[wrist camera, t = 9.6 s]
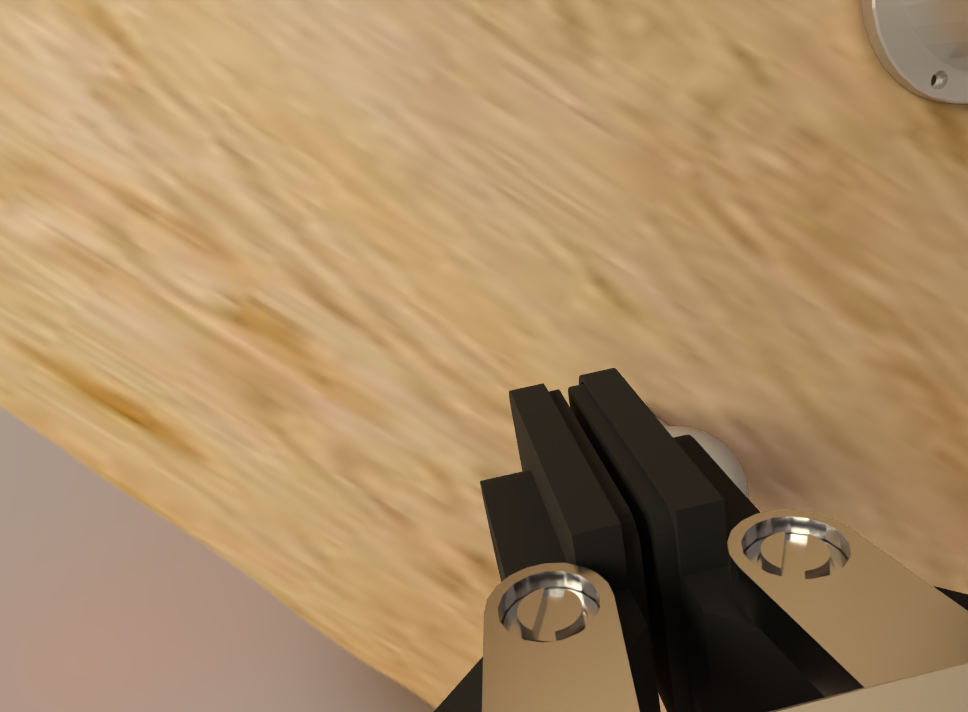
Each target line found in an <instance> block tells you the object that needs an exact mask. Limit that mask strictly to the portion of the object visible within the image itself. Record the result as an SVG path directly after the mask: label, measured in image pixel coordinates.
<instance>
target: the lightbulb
mask: <svg viewBox="0 0 968 712" xmlns="http://www.w3.org/2000/svg"><path fill="white" fill-rule="evenodd" d="M657 419H658V418H657ZM658 420H659V421H660V423H661V424H662V425H663V426H664V427H665V429H666V430H667V431H668V432H669V433H670V435H671V436H672V437H678V436H682V435H691V436H692V437H693V438H695V440H696V441H697V442H698V443H699V444H700V445H701V446H702V447H703V449H704V450H705V451H706V452H707V453H708V454H709V455H710V456H711V458H712V459H713V460H714V461H715V462H716V463H717V464H718V465H719V467H720V468H721V469H722V470H723V471H724V472H725V473H726V474H727V476H728V477H729V478H730V479H731V480H732V481H733V482H734V483H735V485H736V486H737V487H738V488H739V489H740V490H741V491H742V492H743V494H744V495H745V496H746V497H747V498H748V487H747V481H746V476H745V474H744V471H743V469H742V467H741V464H740V462H739V460H738V459H737V457H736V456H735V455H734V453H733V452H732V451H731V450H730V449H729V447H728V446H727V445H725V444H724V443H723V442H722V441H721V440H719V439H718V438H716V437H714V436H712V435H710V434H708V433H706V432H704V431H702V430H700V429H696V428H692V427H683V426H668V425H667V424H666V423H665V422H663V421H662V420H660V419H658Z"/></svg>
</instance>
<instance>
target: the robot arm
mask: <svg viewBox="0 0 968 712" xmlns="http://www.w3.org/2000/svg"><path fill="white" fill-rule="evenodd" d="M861 2H862V10H863V18H864V24H865V27H866V30H867V33H868V36H869V40H870V43H871V46H872V48H873V49H874V51H875V53H876V55H877V57H878V58H879V60H880V62H881V64H882V66H883V67H884V68H885V69H886V70H887V71H888V72H889V74H890V75H891V76H892V77H893V78H894V79H895V80H896V81H897V82H898V83H899V84H901V85H902V86H904V87H905V88H907V89H908V90H909V91H911V92H912V93H914V94H916V95H919V96H921V97H924V98H927V99H929V100H932V101H937V102H945V103H953V104H968V0H861ZM568 395H569V402H570V407H569V405H568V404H567V402H566V400H565V399H564V397H563V395H562V393H561V392H560V390H554V391H550V392H548V390H547V388H546V387H545V385H544V384H539V385H534V386H529V387H525V388H520V389H516V390H511V391H509V398H510V405H511V410H512V416H513V421H514V427H515V432H516V438H517V443H518V449H519V454H520V460H521V465H522V471H523V472H518V473H514V474H510V475H505V476H501V477H496V478H492V479H487V480H483V481H480V484H481V489H482V495H483V500H484V504H485V509H486V514H487V519H488V524H489V528H490V533H491V538H492V543H493V547H494V552H495V556H496V561H497V565H498V569H499V574H500V578H501V583H500V584H499V585H497V586H496V587H495V589H494V590H493V592H492V593H491V595H490V596H489V597H488V599H487V603H486V607H485V611H484V636H483V657H482V658H481V659H480V660H479V662H478V663H477V664H476V665H475V666H474V667H473V668H472V669H471V671H470V672H469V673H468V674H467V675H466V676H465V677H464V678H463V680H462V681H461V682H460V683H459V684H458V685H457V686H456V687H455V689H454V690H453V691H452V692H451V693H450V694H449V695H448V696H447V698H446V699H445V700H444V701H443V702H442V703H441V704H440V705H439V706H438V708H437V709H436V710H435V711H434V712H661V711H660V703H659V695H660V697H661V699H662V702H663V704H664V706H665V708H666V710H667V712H968V595H967V594H963V593H959V592H955V591H951V590H947V589H943V588H939V587H935V586H932V585H931V584H929V583H928V582H926V581H925V580H924V579H922V578H921V577H919V576H918V575H917V574H915V573H914V572H912V571H911V570H910V569H908V568H907V567H905V566H904V565H903V564H901V563H900V562H898V561H897V560H896V559H894V558H893V557H891V556H890V555H889V554H887V553H886V552H884V551H883V550H882V549H880V548H879V547H877V546H876V545H875V544H873V543H872V542H870V541H869V540H868V539H866V538H865V537H863V536H862V535H860V534H859V533H858V532H856V531H855V530H853V529H852V528H851V527H849V526H847V525H846V524H844V523H842V522H840V521H838V520H836V519H835V518H833V517H829V516H826V515H823V514H820V513H816V512H813V511H805V510H797V509H783V510H771V511H766V512H762V513H760V512H759V510H758V509H757V508H756V507H755V506H754V505H753V504H752V503H751V501H750V500H749V499H748V498H747V497H746V496H745V495H744V494H743V492H742V491H741V490H740V489H739V488H738V487H737V486H736V485H735V483H734V482H733V481H732V480H731V479H730V478H729V477H728V476H727V474H726V473H725V472H724V471H723V470H722V469H721V468H720V467H719V465H718V464H717V463H716V462H715V461H714V460H713V459H712V458H711V456H710V455H709V454H708V453H707V452H706V451H705V450H704V449H703V447H702V446H701V445H700V444H699V443H698V442H697V441H696V440H695V438H693V437H692V436H691V435H682V436H678V437H672V436H671V435H670V433H669V432H668V431H667V430H666V429H665V427H664V426H663V425H662V424H661V423H660V421H659V420H658V419H657V418H656V417H655V415H654V414H653V413H652V412H651V410H650V409H649V408H648V407H647V406H646V404H645V403H644V402H643V401H642V400H641V398H640V397H639V396H638V395H637V394H636V392H635V391H634V390H633V389H632V388H631V386H630V385H629V384H628V383H627V382H626V380H625V379H624V378H623V377H622V376H621V374H620V373H619V372H618V371H617V370H616V369H615V368H612V369H607V370H602V371H598V372H593V373H589V374H584V375H580V377H579V385H577V386H572V387H569V389H568ZM658 693H659V695H658Z"/></svg>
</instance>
